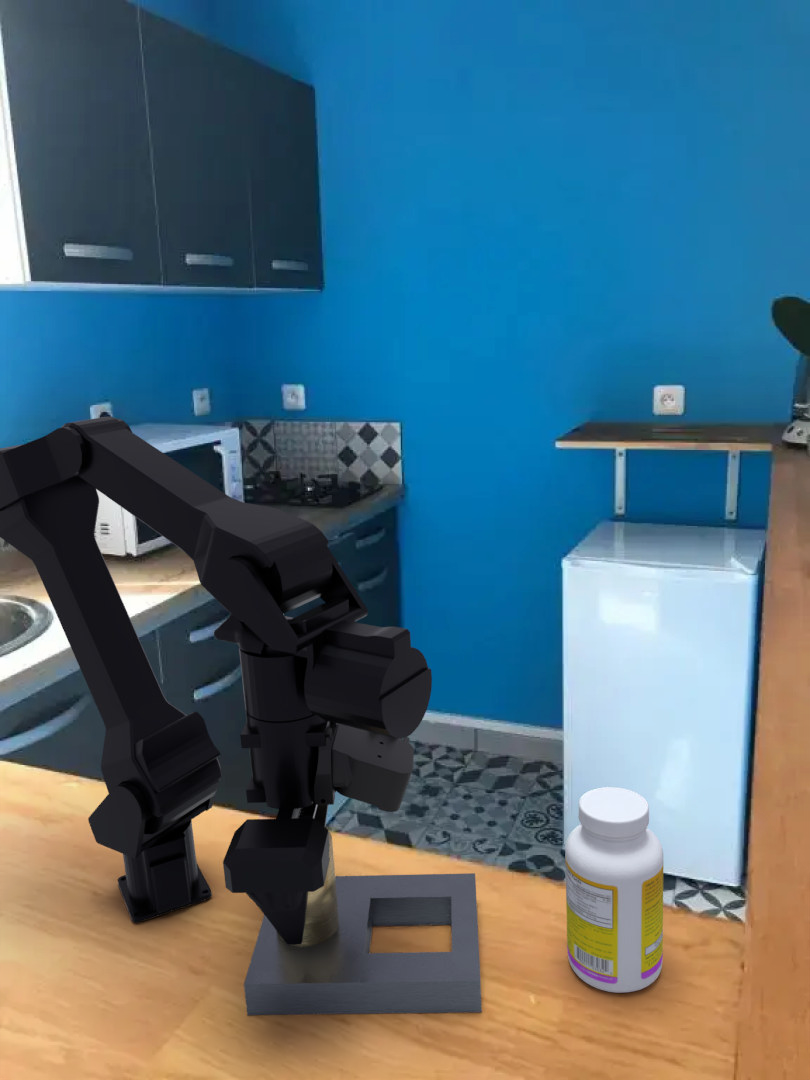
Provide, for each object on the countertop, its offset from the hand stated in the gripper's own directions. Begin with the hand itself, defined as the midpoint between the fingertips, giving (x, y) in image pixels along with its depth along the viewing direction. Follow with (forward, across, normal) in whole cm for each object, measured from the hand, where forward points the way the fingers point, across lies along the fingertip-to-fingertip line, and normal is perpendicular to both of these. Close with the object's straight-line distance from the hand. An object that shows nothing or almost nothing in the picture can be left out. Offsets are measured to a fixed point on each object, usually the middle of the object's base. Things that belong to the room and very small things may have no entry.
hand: (304, 900), depth 68 cm
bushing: (+2, 0, 0) cm, 2 cm away
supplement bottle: (+5, -2, -22) cm, 23 cm away
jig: (+4, 0, -5) cm, 6 cm away
